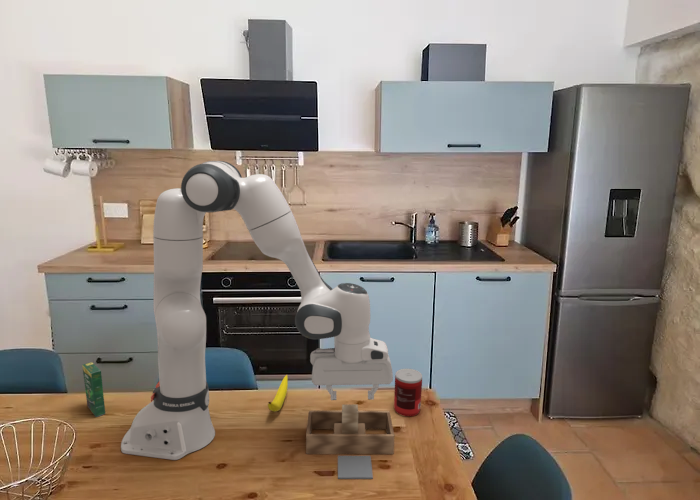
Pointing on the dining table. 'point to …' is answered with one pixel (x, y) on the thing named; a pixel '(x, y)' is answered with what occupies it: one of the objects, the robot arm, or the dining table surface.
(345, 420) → the block
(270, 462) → the dining table surface
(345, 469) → the mat
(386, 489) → the dining table surface
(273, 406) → the banana
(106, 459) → the dining table surface
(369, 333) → the robot arm
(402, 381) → the canned food
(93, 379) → the coffee box
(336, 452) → the crate
